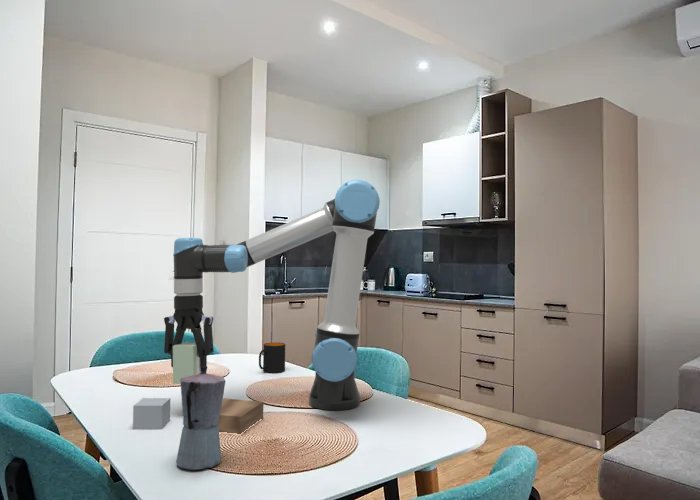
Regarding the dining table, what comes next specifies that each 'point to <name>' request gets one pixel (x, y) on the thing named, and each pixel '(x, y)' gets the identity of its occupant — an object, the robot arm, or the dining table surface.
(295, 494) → the dining table surface
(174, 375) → the sage block
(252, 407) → the walnut block
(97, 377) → the dining table surface
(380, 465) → the dining table surface
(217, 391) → the moka pot
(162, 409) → the slate block
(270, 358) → the mug
